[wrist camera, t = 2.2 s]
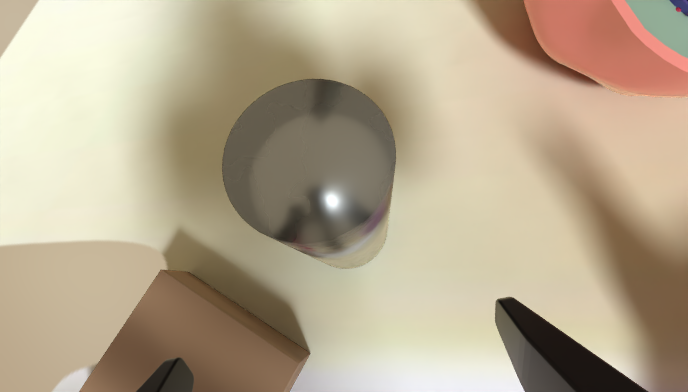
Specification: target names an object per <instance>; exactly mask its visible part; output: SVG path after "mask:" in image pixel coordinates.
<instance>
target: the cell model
mask: <svg viewBox="0 0 688 392" xmlns="http://www.w3.org/2000/svg"><path fill="white" fill-rule="evenodd" d="M523 1H524V5H525V8H526V11H527V14H528V17H529V20H530V24H531V27H532V30H533V32H534V35H535V37H536V39H537V41H538V43H539V44H540V46H541V48H542V49H543V50H544V51H545V52H546V54H547V55H548V56H549V57H550V58H551V59H553V60H554V61H556V62H557V63H559V64H562V65H564V66H566V67H568V68H570V69H572V70H575V71H577V72H579V73H581V74H583V75H585V76H587V77H589V78H591V79H592V80H594V81H596V82H597V83H599V84H601V85H602V86H604V87H606V88H607V89H609V90H611V91H613V92H616V93H619V94H622V95H628V96H651V97H676V98H682V97H688V0H523Z"/></svg>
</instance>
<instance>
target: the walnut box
mask: <svg viewBox="0 0 688 392" xmlns="http://www.w3.org/2000/svg"><path fill="white" fill-rule="evenodd" d="M309 355H310V353H309V352H308V351H306V350H305V349H303V348H302V347H300V346H299V345H297V344H296V343H294V342H293V341H291V340H290V339H288V338H287V337H285V336H284V335H282V334H281V333H279V332H278V331H276V330H275V329H273V328H272V327H270V326H269V325H267V324H266V323H264V322H263V321H261V320H260V319H258V318H257V317H255V316H254V315H252V314H251V313H249V312H248V311H246V310H245V309H243V308H242V307H240V306H239V305H237V304H236V303H234V302H233V301H231V300H230V299H228V298H227V297H225V296H224V295H222V294H221V293H219V292H218V291H216V290H215V289H213V288H212V287H210V286H209V285H207V284H206V283H204V282H203V281H201V280H200V279H198V278H197V277H195V276H194V275H192V274H191V273H189V272H182V271H171V270H160V272H159V274H158V275H157V276H156V278H155V279H154V281H153V282H152V284H151V285H150V287H149V288H148V290H147V291H146V293H145V294H144V296H143V297H142V299H141V300H140V302H139V303H138V305H137V306H136V308H135V309H134V311H133V312H132V314H131V315H130V317H129V318H128V320H127V321H126V323H125V324H124V326H123V327H122V329H121V330H120V332H119V333H118V334H117V336H116V337H115V339H114V341H113V342H112V343H111V345H110V347H109V348H108V349H107V351H106V352H105V354H104V355H103V357H102V358H101V360H100V361H99V363H98V364H97V366H96V367H95V369H94V370H93V372H92V373H91V375H90V376H89V378H88V379H87V381H86V382H85V384H84V385H83V387H82V388H81V390H80V391H79V392H136V391H137V390H138V389H139V388H140V387H141V385H142V384H143V383H144V382H145V381H146V380H147V379H148V378H149V377H150V376H151V375H152V374H153V373H154V371H155V370H156V369H157V368H158V367H159V366H160V365H161V364H162V363H163V362H164V361H165V360H167V359H171V358H176V357H181V358H182V359H183V360H184V361H185V363H186V364H187V365H188V367H189V368H190V370H191V371H192V373H193V375H194V385H193V391H192V392H290V390H291V388H292V386H293V384H294V382H295V381H296V379H297V377H298V375H299V373H300V371H301V370H302V368H303V366H304V364H305V362H306V361H307V359H308V357H309Z"/></svg>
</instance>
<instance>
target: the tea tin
mask: <svg viewBox="0 0 688 392" xmlns="http://www.w3.org/2000/svg"><path fill="white" fill-rule="evenodd" d="M395 163H396V149H395V141H394V137H393V133H392V130H391V127H390V125H389V123H388V121H387V119H386V117H385V116H384V114H383V112H382V111H381V110H380V109H379V107H378V106H377V105H376V104H375V103H374V102H373V101H372V100H371V99H370V98H369V97H367V96H366V95H365V94H363V93H362V92H360V91H359V90H357V89H355V88H353V87H351V86H348V85H346V84H343V83H340V82H336V81H331V80H324V79H307V80H299V81H295V82H291V83H287V84H284V85H282V86H279V87H277V88H275V89H273V90H271V91H269V92H267V93H266V94H264V95H262V96H261V97H259V98H258V99H257V100H256V101H254V102H253V103H252V104H251V105H250V106H249V107H248V108H247V109H246V110H245V111H244V112H243V113H242V115H241V116H240V117H239V119H238V120H237V121H236V123H235V125H234V126H233V128H232V130H231V132H230V134H229V137H228V139H227V142H226V145H225V149H224V154H223V164H222V172H223V181H224V185H225V189H226V192H227V194H228V197H229V199H230V201H231V203H232V205H233V207H234V208H235V210H236V211H237V212H238V214H239V215H240V216H241V217H242V218H243V219H244V220H245V221H246V222H247V223H248V224H249V225H250V226H252V227H253V228H254V229H256V230H257V231H259V232H261V233H263V234H265V235H267V236H269V237H271V238H273V239H275V240H277V241H279V242H281V243H283V244H285V245H288V246H290V247H292V248H294V249H296V250H298V251H300V252H302V253H305V254H307V255H309V256H311V257H313V258H315V259H317V260H319V261H322V262H324V263H326V264H328V265H330V266H333V267H336V268H342V269H349V268H356V267H359V266H362V265H364V264H366V263H368V262H369V261H371V260H372V259H373V258H374V257H375V256H376V255H377V254H378V253H379V252H380V250H381V249H382V247H383V245H384V243H385V240H386V237H387V230H388V222H389V213H390V205H391V197H392V188H393V180H394V171H395Z"/></svg>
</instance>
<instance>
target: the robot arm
mask: <svg viewBox="0 0 688 392" xmlns="http://www.w3.org/2000/svg"><path fill="white" fill-rule="evenodd" d="M495 322H496V326H497V329H498V331H499V333H500V336H501V338H502V341H503V343H504V345H505V348H506V350H507V352H508V355H509V357H510V359H511V362H512V364H513V367H514V369H515V371H516V374H517V376H518V378H519V380H520V383H521V385H522V387H523V389H524V391H525V392H648V391H647V390H645V389H644V388H642V387H641V386H639V385H638V384H637V383H635V382H634V381H632V380H631V379H629V378H628V377H626V376H625V375H624V374H622V373H621V372H619V371H618V370H616V369H615V368H614V367H612V366H611V365H609V364H608V363H606V362H605V361H604V360H602V359H601V358H599V357H598V356H596V355H595V354H593V353H592V352H591V351H589V350H588V349H586V348H585V347H583V346H582V345H581V344H579V343H578V342H576V341H575V340H573V339H572V338H571V337H569V336H568V335H566V334H565V333H563V332H562V331H560V330H559V329H558V328H556V327H555V326H553V325H552V324H550V323H549V322H548V321H546V320H545V319H543V318H542V317H540V316H539V315H538V314H536V313H535V312H533V311H532V310H530V309H529V308H527V307H526V306H525V305H523V304H522V303H520V302H519V301H517V300H516V299H515V298H512V297H506V298H500V299H497V300H496V306H495ZM193 385H194V375H193V373H192V371H191V370H190V368H189V367H188V365H187V364H186V363H185V361H184V360H183V359H182V358H181V357H176V358H171V359H167V360H165V361H164V362H163V363H162V364H161V365H160V366H159V367H158V368H157V369H156V370H155V371H154V373H153V374H152V375H151V376H150V377H149V378H148V379H147V380H146V381H145V382H144V383H143V384H142V385H141V387H140V388H139V389H138V390H137V391H136V392H192V391H193Z"/></svg>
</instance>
